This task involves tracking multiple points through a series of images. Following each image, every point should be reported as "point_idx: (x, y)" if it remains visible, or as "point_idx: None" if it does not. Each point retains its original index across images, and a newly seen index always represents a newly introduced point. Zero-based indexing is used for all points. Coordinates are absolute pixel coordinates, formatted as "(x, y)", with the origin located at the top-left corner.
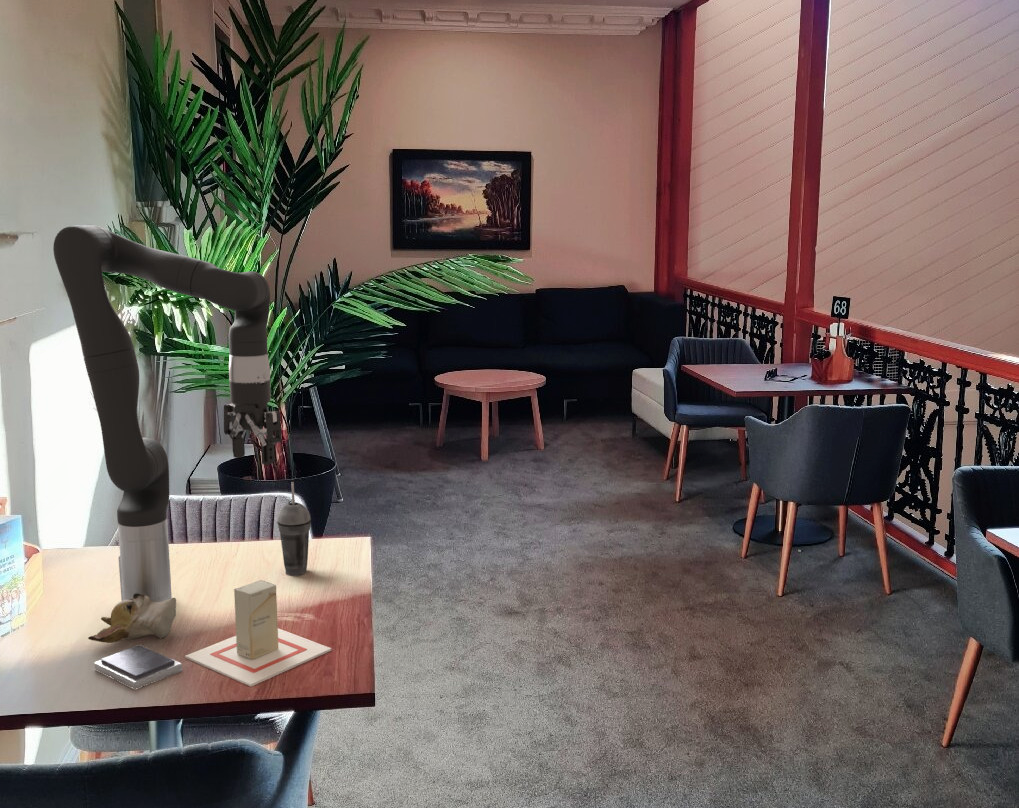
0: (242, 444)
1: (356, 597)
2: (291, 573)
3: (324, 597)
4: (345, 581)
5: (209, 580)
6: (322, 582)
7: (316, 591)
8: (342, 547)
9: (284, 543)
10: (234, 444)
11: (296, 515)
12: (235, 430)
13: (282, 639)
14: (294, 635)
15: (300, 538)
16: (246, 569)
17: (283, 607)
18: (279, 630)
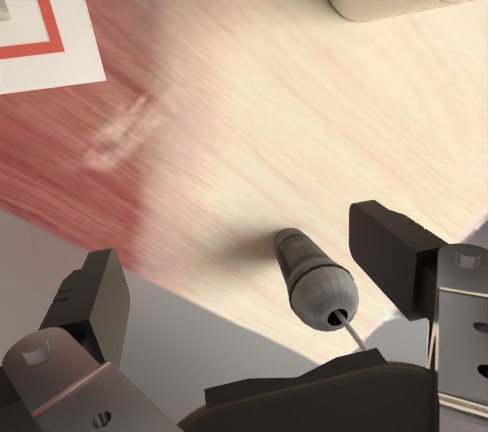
0: (387, 282)
1: (127, 259)
2: (283, 232)
3: (162, 223)
4: (201, 278)
5: (366, 121)
6: (222, 251)
7: (194, 226)
8: (322, 335)
9: (307, 250)
10: (403, 234)
11: (305, 299)
12: (439, 293)
13: (6, 58)
14: (15, 88)
15: (286, 276)
16: (359, 192)
17: (167, 150)
18: (57, 80)
